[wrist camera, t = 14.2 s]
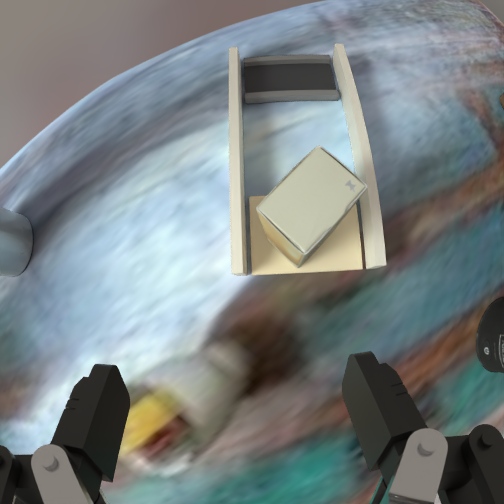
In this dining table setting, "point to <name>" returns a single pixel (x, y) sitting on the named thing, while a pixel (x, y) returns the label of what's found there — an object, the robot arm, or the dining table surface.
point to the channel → (360, 156)
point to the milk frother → (492, 337)
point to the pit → (289, 79)
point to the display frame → (502, 100)
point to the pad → (324, 259)
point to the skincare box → (309, 205)
